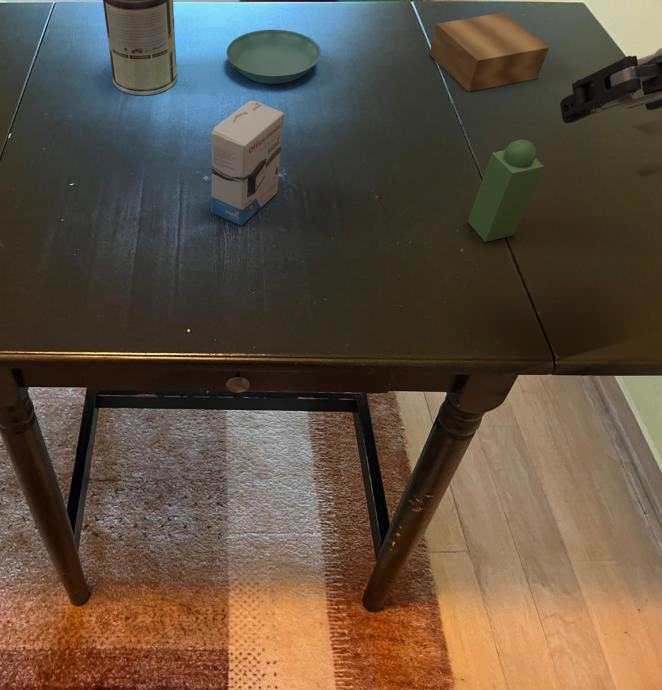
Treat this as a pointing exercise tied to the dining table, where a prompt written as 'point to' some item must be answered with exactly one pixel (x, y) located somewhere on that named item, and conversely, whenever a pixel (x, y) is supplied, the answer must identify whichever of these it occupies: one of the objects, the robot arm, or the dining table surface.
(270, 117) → the ink box
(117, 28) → the coffee can
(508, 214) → the toy tower
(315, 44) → the saucer
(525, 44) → the wooden block
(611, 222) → the dining table surface
